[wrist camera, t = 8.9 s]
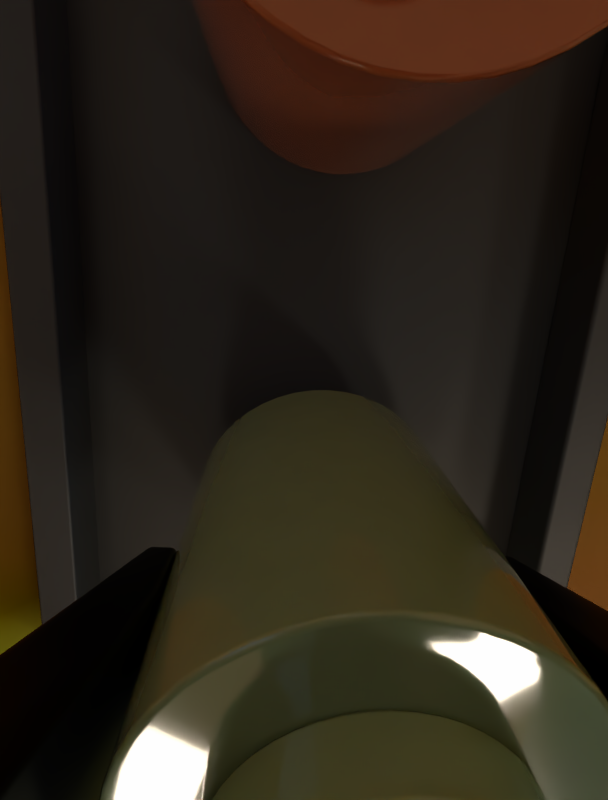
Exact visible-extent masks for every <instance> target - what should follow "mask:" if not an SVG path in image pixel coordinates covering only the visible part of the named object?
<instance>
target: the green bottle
mask: <svg viewBox="0 0 608 800" xmlns="http://www.w3.org/2000/svg"><path fill="white" fill-rule="evenodd" d="M99 800H608V699H607V697H606V696H605V695H604V693H603V692H602V690H601V689H600V688H599V686H598V685H597V683H596V682H595V681H594V679H593V678H592V676H591V675H590V674H589V672H588V671H587V670H586V668H585V667H584V665H583V664H582V663H581V661H580V660H579V658H578V657H577V656H576V654H575V653H574V652H573V650H572V649H571V647H570V646H569V645H568V643H567V642H566V640H565V639H564V638H563V636H562V635H561V633H560V632H559V631H558V629H557V628H556V627H555V625H554V624H553V622H552V621H551V620H550V618H549V617H548V615H547V614H546V613H545V611H544V610H543V609H542V607H541V606H540V604H539V603H538V602H537V600H536V599H535V597H534V596H533V595H532V593H531V592H530V590H529V589H528V588H527V586H526V585H525V584H524V582H523V581H522V579H521V578H520V577H519V575H518V574H517V572H516V571H515V570H514V568H513V567H512V566H511V564H510V563H509V561H508V560H507V559H506V557H505V556H504V554H503V553H502V552H501V550H500V549H499V547H498V546H497V545H496V543H495V542H494V541H493V539H492V538H491V536H490V535H489V534H488V532H487V531H486V529H485V528H484V527H483V525H482V524H481V523H480V521H479V520H478V518H477V517H476V516H475V514H474V513H473V511H472V510H471V509H470V507H469V506H468V504H467V503H466V502H465V500H464V499H463V498H462V496H461V495H460V493H459V492H458V491H457V489H456V488H455V486H454V485H453V484H452V482H451V481H450V480H449V478H448V477H447V475H446V474H445V473H444V471H443V470H442V468H441V467H440V466H439V464H438V463H437V461H436V460H435V459H434V457H433V456H432V455H431V453H430V452H429V450H428V449H427V448H426V446H425V445H424V443H423V442H422V441H421V439H420V438H419V437H418V435H417V434H416V433H415V431H414V430H413V429H412V428H411V427H410V426H409V425H408V424H407V423H406V422H405V421H404V420H403V419H402V418H400V417H399V416H398V415H396V414H395V413H394V412H392V411H391V410H390V409H388V408H386V407H384V406H383V405H381V404H379V403H377V402H375V401H372V400H370V399H367V398H365V397H362V396H359V395H355V394H351V393H347V392H340V391H331V390H311V391H304V392H297V393H292V394H288V395H285V396H281V397H278V398H275V399H273V400H270V401H268V402H266V403H263V404H261V405H260V406H258V407H256V408H254V409H253V410H251V411H249V412H248V413H246V414H245V415H244V416H242V417H241V418H240V419H239V420H237V421H236V422H235V423H234V424H233V425H232V426H231V427H230V428H229V429H228V430H227V431H226V432H225V433H224V434H223V435H222V437H221V438H220V439H219V441H218V442H217V443H216V445H215V446H214V448H213V449H212V451H211V453H210V455H209V457H208V458H207V461H206V463H205V466H204V468H203V471H202V474H201V477H200V480H199V483H198V486H197V489H196V492H195V496H194V499H193V502H192V505H191V508H190V511H189V514H188V517H187V521H186V524H185V527H184V530H183V533H182V536H181V539H180V542H179V545H178V549H177V552H176V555H175V558H174V561H173V564H172V567H171V570H170V574H169V577H168V580H167V583H166V586H165V589H164V592H163V595H162V599H161V602H160V605H159V608H158V611H157V614H156V617H155V620H154V624H153V627H152V630H151V633H150V636H149V639H148V642H147V645H146V648H145V652H144V655H143V658H142V661H141V664H140V667H139V670H138V673H137V677H136V680H135V683H134V686H133V689H132V692H131V695H130V698H129V702H128V705H127V708H126V711H125V714H124V717H123V720H122V723H121V727H120V730H119V733H118V736H117V739H116V742H115V745H114V748H113V751H112V755H111V758H110V761H109V764H108V767H107V770H106V773H105V776H104V780H103V783H102V787H101V792H100V797H99Z"/></svg>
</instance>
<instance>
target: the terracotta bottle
mask: <svg viewBox="0 0 608 800" xmlns="http://www.w3.org/2000/svg"><path fill="white" fill-rule="evenodd" d="M191 2H192V4H193V7H194V10H195V13H196V16H197V19H198V21H199V24H200V27H201V30H202V33H203V36H204V38H205V41H206V44H207V47H208V50H209V53H210V55H211V58H212V61H213V64H214V67H215V70H216V72H217V75H218V78H219V80H220V83H221V85H222V87H223V90H224V92H225V95H226V96H227V98H228V100H229V102H230V104H231V105H232V107H233V109H234V111H235V112H236V114H237V115H238V116H239V118H240V119H241V120H242V122H243V123H244V125H245V126H246V127H247V128H248V129H249V130H250V131H251V132H252V134H253V135H254V136H255V137H256V138H257V139H258V140H259V141H260V142H262V143H263V144H264V145H265V146H267V147H268V148H269V149H270V150H271V151H273V152H274V153H276V154H278V155H279V156H281V157H282V158H284V159H286V160H287V161H290V162H292V163H294V164H296V165H299V166H301V167H304V168H307V169H310V170H314V171H317V172H323V173H330V174H355V173H362V172H368V171H372V170H375V169H378V168H382V167H385V166H387V165H389V164H391V163H394V162H396V161H398V160H400V159H401V158H403V157H405V156H406V155H408V154H410V153H411V152H413V151H414V150H416V149H418V148H419V147H421V146H422V145H424V144H425V143H427V142H428V141H430V140H432V139H433V138H435V137H436V136H438V135H439V134H441V133H443V132H444V131H446V130H447V129H449V128H450V127H452V126H453V125H455V124H457V123H458V122H460V121H461V120H463V119H464V118H466V117H468V116H469V115H471V114H472V113H474V112H475V111H477V110H478V109H480V108H482V107H483V106H485V105H486V104H488V103H489V102H491V101H493V100H494V99H496V98H497V97H499V96H500V95H502V94H503V93H505V92H507V91H508V90H510V89H511V88H513V87H514V86H516V85H518V84H519V83H521V82H522V81H524V80H525V79H527V78H528V77H530V76H532V75H533V74H535V73H536V72H538V71H539V70H541V69H543V68H544V67H546V66H547V65H549V64H550V63H552V62H553V61H555V60H557V59H558V58H560V57H561V56H563V55H564V54H566V53H568V52H569V51H571V50H572V49H574V48H575V47H577V46H578V45H580V44H582V43H583V42H585V41H586V40H588V39H589V38H591V37H593V36H594V35H596V34H597V33H599V32H600V31H602V30H603V29H605V28H607V27H608V0H191Z"/></svg>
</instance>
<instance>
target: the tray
mask: <svg viewBox="0 0 608 800" xmlns="http://www.w3.org/2000/svg"><path fill="white" fill-rule="evenodd" d="M0 197H1V207H2V218H3V228H4V238H5V248H6V259H7V269H8V279H9V290H10V300H11V310H12V320H13V331H14V341H15V351H16V362H17V372H18V382H19V392H20V403H21V413H22V423H23V433H24V444H25V454H26V464H27V475H28V485H29V495H30V505H31V516H32V526H33V536H34V547H35V557H36V567H37V577H38V588H39V598H40V608H41V619H42V624H44V623H45V622H47V621H48V620H49V619H51V618H52V617H54V616H55V615H56V614H58V613H59V612H60V611H62V610H63V609H65V608H66V607H67V606H69V605H70V604H72V603H73V602H74V601H76V600H77V599H78V598H80V597H81V596H83V595H84V594H85V593H87V592H88V591H90V590H91V589H92V588H94V587H95V586H96V585H98V584H99V583H101V582H102V581H103V580H105V579H106V578H108V577H109V576H110V575H112V574H113V573H114V572H116V571H117V570H119V569H120V568H121V567H123V566H124V565H126V564H127V563H128V562H130V561H131V560H132V559H134V558H135V557H137V556H138V555H139V554H141V553H142V552H144V551H145V550H146V549H148V548H150V547H172V548H174V549H175V550H176V552H177V549H178V545H179V542H180V539H181V536H182V533H183V530H184V527H185V524H186V521H187V517H188V514H189V511H190V508H191V505H192V502H193V499H194V496H195V492H196V489H197V486H198V483H199V480H200V477H201V474H202V471H203V468H204V466H205V463H206V461H207V458H208V457H209V455H210V453H211V451H212V449H213V448H214V446H215V445H216V443H217V442H218V441H219V439H220V438H221V437H222V435H223V434H224V433H225V432H226V431H227V430H228V429H229V428H230V427H231V426H232V425H233V424H234V423H235V422H236V421H237V420H239V419H240V418H241V417H242V416H244V415H245V414H246V413H248V412H249V411H251V410H253V409H254V408H256V407H258V406H260V405H261V404H263V403H266V402H268V401H270V400H273V399H275V398H278V397H281V396H285V395H288V394H292V393H297V392H304V391H311V390H331V391H340V392H347V393H351V394H355V395H359V396H362V397H365V398H367V399H370V400H372V401H375V402H377V403H379V404H381V405H383V406H384V407H386V408H388V409H390V410H391V411H392V412H394V413H395V414H396V415H398V416H399V417H400V418H402V419H403V420H404V421H405V422H406V423H407V424H408V425H409V426H410V427H411V428H412V429H413V430H414V431H415V433H416V434H417V435H418V437H419V438H420V439H421V441H422V442H423V443H424V445H425V446H426V448H427V449H428V450H429V452H430V453H431V455H432V456H433V457H434V459H435V460H436V461H437V463H438V464H439V466H440V467H441V468H442V470H443V471H444V473H445V474H446V475H447V477H448V478H449V480H450V481H451V482H452V484H453V485H454V486H455V488H456V489H457V491H458V492H459V493H460V495H461V496H462V498H463V499H464V500H465V502H466V503H467V504H468V506H469V507H470V509H471V510H472V511H473V513H474V514H475V516H476V517H477V518H478V520H479V521H480V523H481V524H482V525H483V527H484V528H485V529H486V531H487V532H488V534H489V535H490V536H491V538H492V539H493V541H494V542H495V543H496V545H497V546H498V547H499V549H500V550H501V552H502V553H503V554H504V556H509V557H512V558H514V559H516V560H518V561H519V562H521V563H523V564H525V565H527V566H528V567H530V568H532V569H534V570H535V571H537V572H539V573H541V574H543V575H544V576H546V577H548V578H550V579H551V580H553V581H555V582H557V583H558V584H560V585H562V586H564V587H566V588H567V585H568V581H569V577H570V573H571V568H572V564H573V560H574V556H575V552H576V547H577V543H578V539H579V535H580V531H581V526H582V522H583V518H584V514H585V510H586V505H587V501H588V497H589V493H590V489H591V484H592V480H593V476H594V472H595V468H596V463H597V459H598V455H599V451H600V447H601V442H602V438H603V434H604V430H605V426H606V421H607V417H608V27H607V28H605V29H603V30H602V31H600V32H599V33H597V34H596V35H594V36H593V37H591V38H589V39H588V40H586V41H585V42H583V43H582V44H580V45H578V46H577V47H575V48H574V49H572V50H571V51H569V52H568V53H566V54H564V55H563V56H561V57H560V58H558V59H557V60H555V61H553V62H552V63H550V64H549V65H547V66H546V67H544V68H543V69H541V70H539V71H538V72H536V73H535V74H533V75H532V76H530V77H528V78H527V79H525V80H524V81H522V82H521V83H519V84H518V85H516V86H514V87H513V88H511V89H510V90H508V91H507V92H505V93H503V94H502V95H500V96H499V97H497V98H496V99H494V100H493V101H491V102H489V103H488V104H486V105H485V106H483V107H482V108H480V109H478V110H477V111H475V112H474V113H472V114H471V115H469V116H468V117H466V118H464V119H463V120H461V121H460V122H458V123H457V124H455V125H453V126H452V127H450V128H449V129H447V130H446V131H444V132H443V133H441V134H439V135H438V136H436V137H435V138H433V139H432V140H430V141H428V142H427V143H425V144H424V145H422V146H421V147H419V148H418V149H416V150H414V151H413V152H411V153H410V154H408V155H406V156H405V157H403V158H401V159H400V160H398V161H396V162H394V163H391V164H389V165H387V166H385V167H382V168H378V169H375V170H372V171H368V172H362V173H355V174H330V173H323V172H317V171H314V170H310V169H307V168H304V167H301V166H299V165H296V164H294V163H292V162H290V161H287V160H286V159H284V158H282V157H281V156H279V155H278V154H276V153H274V152H273V151H271V150H270V149H269V148H268V147H267V146H265V145H264V144H263V143H262V142H260V141H259V140H258V139H257V138H256V137H255V136H254V135H253V134H252V132H251V131H250V130H249V129H248V128H247V127H246V126H245V125H244V123H243V122H242V120H241V119H240V118H239V116H238V115H237V114H236V112H235V111H234V109H233V107H232V105H231V104H230V102H229V100H228V98H227V96H226V95H225V92H224V90H223V87H222V85H221V83H220V80H219V78H218V75H217V72H216V70H215V67H214V64H213V61H212V58H211V55H210V53H209V50H208V47H207V44H206V41H205V38H204V36H203V33H202V30H201V27H200V24H199V21H198V19H197V16H196V13H195V10H194V7H193V4H192V2H191V0H0Z"/></svg>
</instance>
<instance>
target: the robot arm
mask: <svg viewBox="0 0 608 800" xmlns="http://www.w3.org/2000/svg"><path fill="white" fill-rule="evenodd" d="M175 555H176V550H175V549H174V548H172V547H150V548H148V549H146V550H145V551H144V552H142V553H141V554H139V555H138V556H137V557H135V558H134V559H132V560H131V561H130V562H128V563H127V564H126V565H124V566H123V567H121V568H120V569H119V570H117V571H116V572H114V573H113V574H112V575H110V576H109V577H108V578H106V579H105V580H103V581H102V582H101V583H99V584H98V585H96V586H95V587H94V588H92V589H91V590H90V591H88V592H87V593H85V594H84V595H83V596H81V597H80V598H78V599H77V600H76V601H74V602H73V603H72V604H70V605H69V606H67V607H66V608H65V609H63V610H62V611H60V612H59V613H58V614H56V615H55V616H54V617H52V618H51V619H49V620H48V621H47V622H45V623H44V624H42V625H41V626H40V627H38V628H37V629H36V630H34V631H33V632H31V633H30V634H29V635H27V636H26V637H24V638H23V639H22V640H20V641H19V642H18V643H16V644H15V645H13V646H12V647H11V648H9V649H8V650H6V651H5V652H4V653H2V654H1V655H0V800H99V797H100V792H101V787H102V783H103V780H104V776H105V773H106V770H107V767H108V764H109V761H110V758H111V755H112V751H113V748H114V745H115V742H116V739H117V736H118V733H119V730H120V727H121V723H122V720H123V717H124V714H125V711H126V708H127V705H128V702H129V698H130V695H131V692H132V689H133V686H134V683H135V680H136V677H137V673H138V670H139V667H140V664H141V661H142V658H143V655H144V652H145V648H146V645H147V642H148V639H149V636H150V633H151V630H152V627H153V624H154V620H155V617H156V614H157V611H158V608H159V605H160V602H161V599H162V595H163V592H164V589H165V586H166V583H167V580H168V577H169V574H170V570H171V567H172V564H173V561H174V558H175ZM505 557H506V559H507V560H508V561H509V563H510V564H511V566H512V567H513V568H514V570H515V571H516V572H517V574H518V575H519V577H520V578H521V579H522V581H523V582H524V584H525V585H526V586H527V588H528V589H529V590H530V592H531V593H532V595H533V596H534V597H535V599H536V600H537V602H538V603H539V604H540V606H541V607H542V609H543V610H544V611H545V613H546V614H547V615H548V617H549V618H550V620H551V621H552V622H553V624H554V625H555V627H556V628H557V629H558V631H559V632H560V633H561V635H562V636H563V638H564V639H565V640H566V642H567V643H568V645H569V646H570V647H571V649H572V650H573V652H574V653H575V654H576V656H577V657H578V658H579V660H580V661H581V663H582V664H583V665H584V667H585V668H586V670H587V671H588V672H589V674H590V675H591V676H592V678H593V679H594V681H595V682H596V683H597V685H598V686H599V688H600V689H601V690H602V692H603V693H604V695H605V696H606V697H607V699H608V611H606V610H605V609H603V608H601V607H599V606H597V605H596V604H594V603H592V602H590V601H589V600H587V599H585V598H583V597H582V596H580V595H578V594H576V593H574V592H573V591H571V590H569V589H567V588H566V587H564V586H562V585H560V584H558V583H557V582H555V581H553V580H551V579H550V578H548V577H546V576H544V575H543V574H541V573H539V572H537V571H535V570H534V569H532V568H530V567H528V566H527V565H525V564H523V563H521V562H519V561H518V560H516V559H514V558H512V557H509V556H505Z"/></svg>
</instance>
